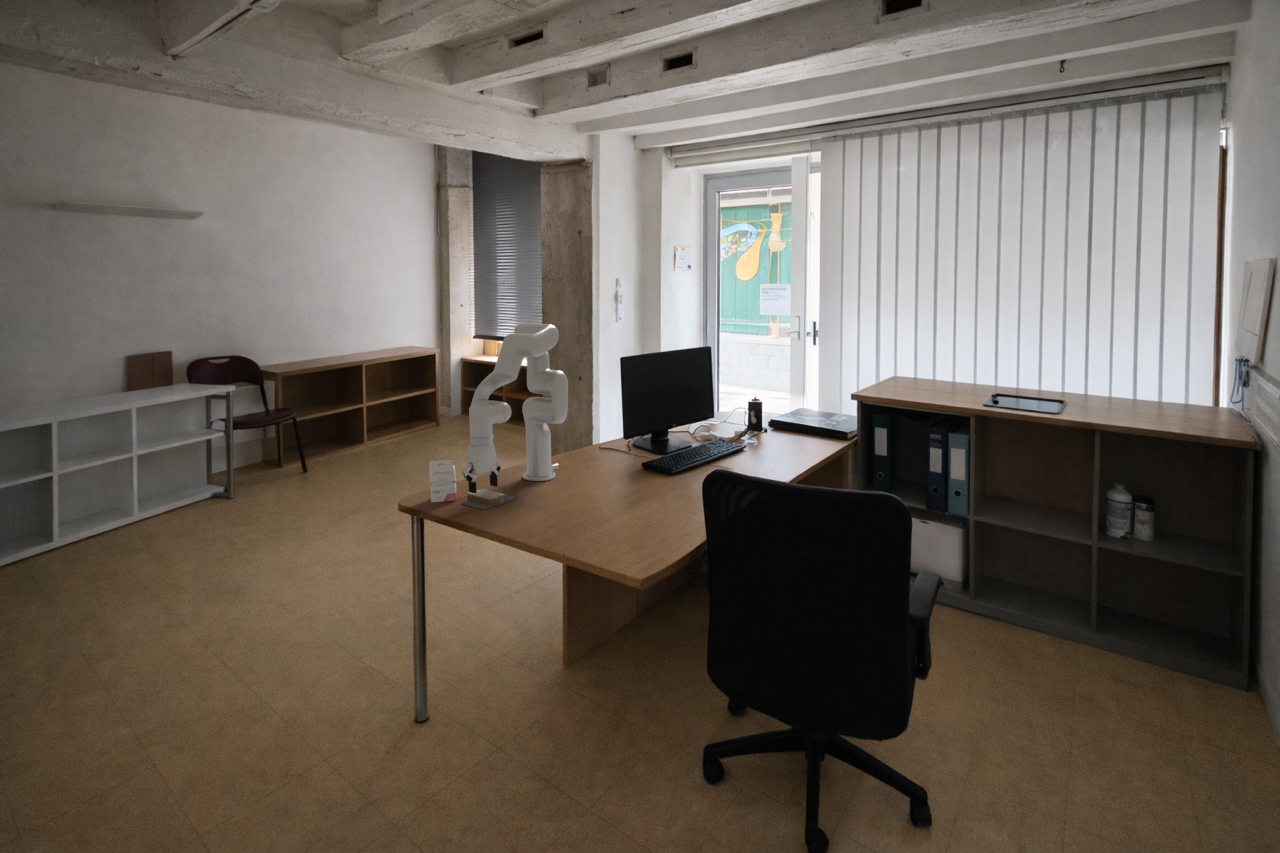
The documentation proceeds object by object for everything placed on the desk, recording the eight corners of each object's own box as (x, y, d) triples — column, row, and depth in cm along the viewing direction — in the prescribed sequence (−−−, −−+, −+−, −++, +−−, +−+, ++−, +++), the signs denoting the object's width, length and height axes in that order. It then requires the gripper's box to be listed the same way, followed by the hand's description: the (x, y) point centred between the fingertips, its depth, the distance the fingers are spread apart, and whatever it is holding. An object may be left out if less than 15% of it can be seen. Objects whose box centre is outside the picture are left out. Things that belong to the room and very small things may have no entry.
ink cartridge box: (456, 497, 250) (455, 456, 247) (456, 501, 245) (454, 460, 242) (431, 498, 248) (429, 457, 245) (430, 502, 243) (428, 461, 240)
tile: (482, 488, 249) (467, 493, 244) (504, 493, 243) (489, 498, 238) (482, 495, 250) (467, 500, 244) (504, 500, 244) (489, 505, 238)
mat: (493, 493, 254) (493, 491, 254) (515, 498, 248) (515, 497, 248) (461, 503, 242) (461, 502, 242) (483, 509, 236) (483, 508, 236)
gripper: (492, 435, 248) (494, 481, 251) (454, 443, 234) (456, 493, 237) (508, 437, 244) (509, 485, 247) (469, 446, 230) (471, 497, 233)
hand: (483, 489), depth 242 cm, fingers open, 9 cm apart
